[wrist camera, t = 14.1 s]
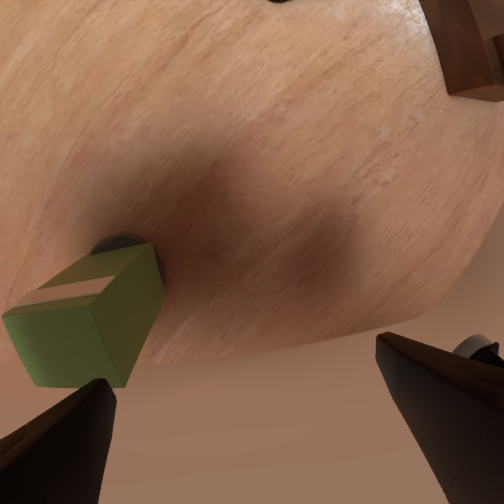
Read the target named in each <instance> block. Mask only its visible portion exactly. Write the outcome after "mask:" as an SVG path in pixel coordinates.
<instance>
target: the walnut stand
mask: <svg viewBox="0 0 504 504" xmlns="http://www.w3.org/2000/svg"><path fill="white" fill-rule="evenodd" d="M419 1H420V3H421V6H422V8H423V11H424V13H425V16H426V19H427V21H428V24H429V27H430V30H431V33H432V36H433V39H434V42H435V45H436V48H437V52H438V55H439V58H440V62H441V66H442V69H443V73H444V77H445V81H446V86H447V90H448V94H449V95H455V96H462V97H469V98H475V99H481V100H487V101H492V102H500V101H504V0H419Z"/></svg>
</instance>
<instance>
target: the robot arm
mask: <svg viewBox="0 0 504 504" xmlns="http://www.w3.org/2000/svg"><path fill="white" fill-rule="evenodd" d="M498 350H499V343H497V342H495V343H493V344H492V345H491V346H489V347H488V348H486V349H485V350H484V351H482V352H481V353H479V354H478V355H476V356H475V357H474V358H472V359H469V358H466V357H463V356H460V355H457V354H454V353H450V352H447V351H444V350H441V349H438V348H435V347H432V346H429V345H426V344H424V343H421V342H418V341H415V340H412V339H409V338H406V337H403V336H400V335H397V334H394V333H391V332H385V333H382V334H378V336H377V337H376V361H377V364H378V366H379V368H380V371H381V373H382V375H383V377H384V380H385V382H386V385H387V387H388V389H389V392H390V394H391V396H392V398H393V400H394V402H395V404H396V405H397V407H398V409H399V411H400V412H401V414H402V416H403V418H404V419H405V421H406V423H407V425H408V426H409V428H410V430H411V432H412V434H413V436H414V437H415V439H416V441H417V442H418V445H419V446H420V448H421V450H422V452H423V454H424V455H425V457H426V459H427V461H428V463H429V465H430V467H431V469H432V471H433V473H434V474H435V476H436V478H437V480H438V482H439V484H440V486H441V488H442V490H443V492H444V494H445V495H446V498H447V500H448V502H449V504H504V360H503V359H502V358H500V357H499V356H498ZM116 403H117V400H116V396H115V394H114V392H113V390H112V388H111V386H110V384H109V382H108V381H107V380H106V379H105V378H95V379H93V380H92V381H90V382H89V383H87V384H86V385H84V386H83V387H81V388H80V389H79V390H77V391H76V392H74V393H72V394H71V395H69V396H68V397H67V398H65V399H63V400H62V401H60V402H59V403H57V404H56V405H54V406H53V407H51V408H50V409H48V410H47V411H45V412H44V413H42V414H41V415H39V416H37V417H36V418H34V419H33V420H32V421H30V422H28V423H27V424H26V425H24V426H22V427H20V428H19V429H17V430H16V431H14V432H12V433H11V434H9V435H8V436H6V437H4V438H2V439H0V504H98V500H99V495H100V490H101V484H102V480H103V475H104V470H105V466H106V461H107V456H108V452H109V448H110V443H111V439H112V433H113V425H114V418H115V409H116Z"/></svg>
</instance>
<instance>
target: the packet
mask: <svg viewBox="0 0 504 504" xmlns="http://www.w3.org/2000/svg"><path fill="white" fill-rule="evenodd" d="M165 297H166V294H165V291H164V287H163V283H162V280H161V276H160V272H159V269H158V265H157V261H156V257H155V253H154V249H153V245H152V242H149V243H144V244H140V245H135V246H130V247H125V248H120V249H116V250H111V251H106V252H101V253H97V254H92V255H88V256H84V257H83V258H81V259H80V260H78V261H77V262H75V263H74V264H72V265H71V266H69V267H68V268H66V269H65V270H63V271H62V272H61V273H59V274H58V275H56V276H55V277H53V278H52V279H51V280H49V281H48V282H46V283H45V284H44V285H42V286H41V287H39V288H38V289H37V290H32V291H30V292H29V293H28V294H26V295H25V296H23V297H22V298H21V299H19V300H18V301H17V302H15V303H14V304H13V305H11V307H13V308H11V309H10V310H9V311H7V312H6V313H5V314H4V315H2V319H3V322H4V324H5V326H6V329H7V331H8V333H9V335H10V338H11V340H12V342H13V344H14V346H15V348H16V350H17V352H18V354H19V356H20V358H21V360H22V362H23V364H24V366H25V368H26V370H27V372H28V373H29V375H30V377H31V379H32V381H33V382H34V384H35V386H36V387H51V388H81V387H83V386H84V385H86V384H87V383H89V382H90V381H92V380H93V379H95V378H105V379H106V380H107V381H108V382H109V384H110V386H111V388H125V386H126V384H127V381H128V379H129V377H130V374H131V372H132V369H133V367H134V365H135V363H136V361H137V358H138V356H139V354H140V351H141V349H142V347H143V345H144V342H145V340H146V338H147V336H148V334H149V331H150V329H151V327H152V325H153V323H154V321H155V318H156V316H157V314H158V312H159V310H160V308H161V306H162V304H163V302H164V299H165Z"/></svg>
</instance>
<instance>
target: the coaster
mask: <svg viewBox="0 0 504 504" xmlns="http://www.w3.org/2000/svg"><path fill="white" fill-rule="evenodd" d="M144 243H148V242H146V241H145V240H144V239H142V238H140V237H138V236H135V235H132V234H128V233H117V234H113V235H110V236H108V237H106V238H104V239H103V240H101V241H100V242H99V243H98V244H97V245H96V246H95V247H94V248H93V250H92V252H91V254H90V255H92V254H97V253H101V252H106V251H111V250H116V249H120V248H125V247H130V246H135V245H140V244H144ZM153 249H154V248H153ZM154 253H155V257H156V261H157V265H158V269H159V272H160V276H161V280H162V283H163V287H164V283H165V271H164V267H163V263H162V261H161V259H160V257H159V255H158V253H157V252H156V250H155V249H154Z"/></svg>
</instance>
